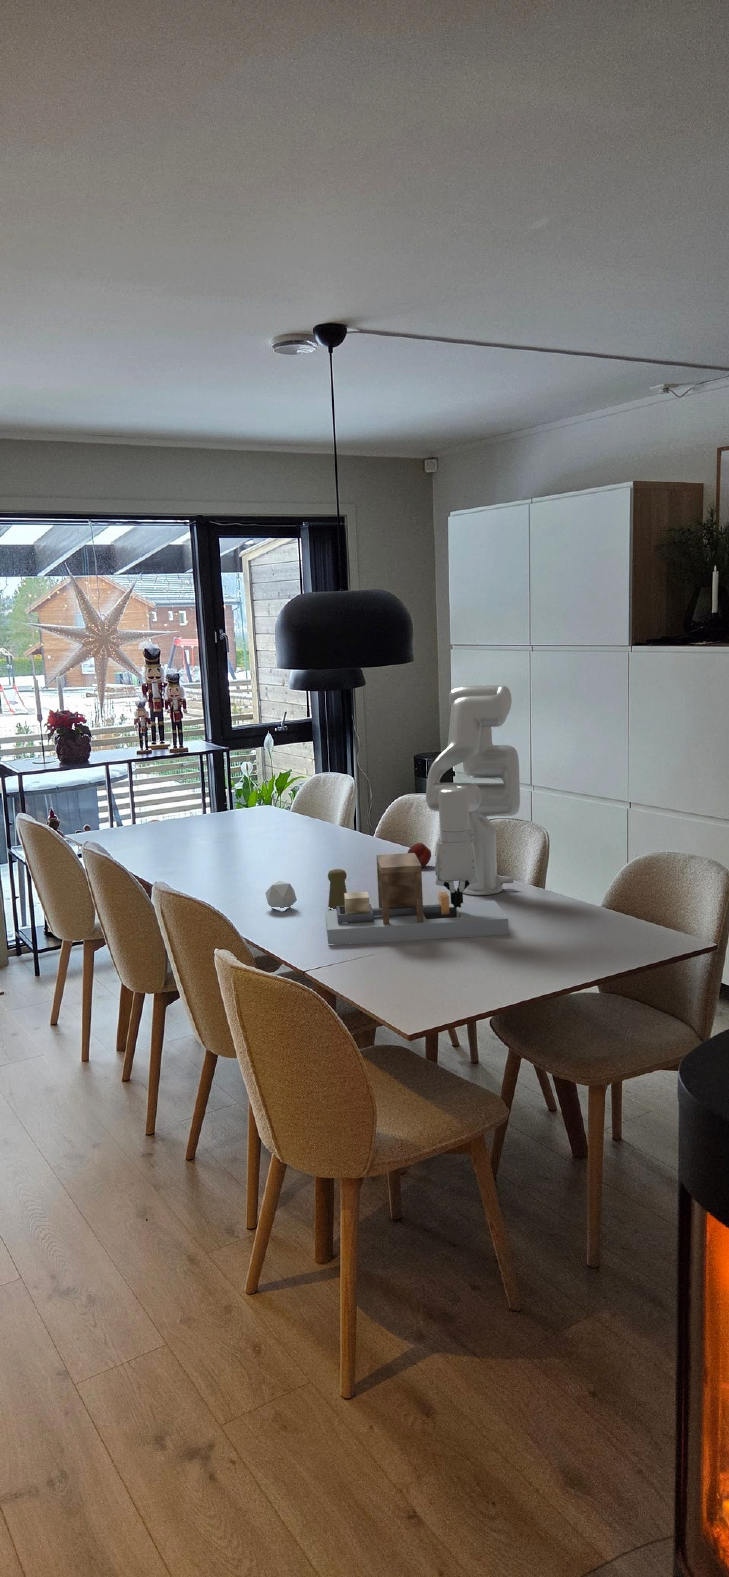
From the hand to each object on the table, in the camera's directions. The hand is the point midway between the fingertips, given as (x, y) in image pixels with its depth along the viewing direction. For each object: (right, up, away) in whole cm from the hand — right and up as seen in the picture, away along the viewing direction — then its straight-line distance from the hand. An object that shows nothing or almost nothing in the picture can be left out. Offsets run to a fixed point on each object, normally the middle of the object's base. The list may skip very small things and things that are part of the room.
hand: (457, 906), depth 267 cm
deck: (-11, -6, 0) cm, 12 cm away
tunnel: (-15, -2, -1) cm, 15 cm away
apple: (-6, +4, +71) cm, 71 cm away
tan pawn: (-31, -4, +25) cm, 40 cm away
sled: (-17, -2, -1) cm, 17 cm away
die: (-47, -4, +26) cm, 54 cm away
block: (-26, -3, -1) cm, 26 cm away
